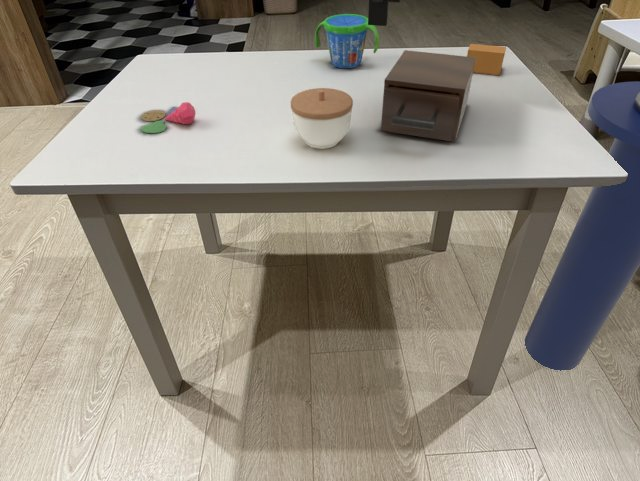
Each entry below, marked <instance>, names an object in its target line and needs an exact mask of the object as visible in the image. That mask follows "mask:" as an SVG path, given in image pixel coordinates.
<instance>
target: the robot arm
mask: <svg viewBox="0 0 640 481" xmlns="http://www.w3.org/2000/svg"><path fill="white" fill-rule="evenodd" d="M400 2H401V0H368V12H367V13H368V14H367V15H368V16H367V18H368V25H374V26H379V27H387V25H388V15H389V14H388V13H389V3H400ZM634 108H635V109H636V110H637V111H638V112H639V113H640V92H639V93H638V95H637V97H636V99H635V101H634Z"/></svg>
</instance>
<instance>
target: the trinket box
mask: <svg viewBox="0 0 640 481" xmlns="http://www.w3.org/2000/svg"><path fill="white" fill-rule="evenodd" d="M353 106H354V101H353V98H352V96H351V95H350V94H348V92H345V91H343V90H340V89H335V88H330V87H318V88H310V89H309V88H308V89H306V90H302V91H300V92H297V93H296V94H295V95H294V96H292V98H291V99H290V108H291V117H292V122H293V126H294V129H295V131H296V133H297V135H298V136H299V138H301V140H302V141H304V142H305V143H306V145H307V146H309V147H311V148H313V149H318V150H327V149H331V148H333V147H336V146H337V145H339V142H341V140H343V139H344V137H345V136H346V135H347V133H348V131H349V129H350V126H351V122H352V117H353V116H352V114H353Z"/></svg>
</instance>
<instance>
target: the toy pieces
mask: <svg viewBox="0 0 640 481" xmlns="http://www.w3.org/2000/svg"><path fill="white" fill-rule="evenodd" d="M195 118H196V109H195V106H193V105H192V103H190V102H189V101H188V102H187V101H185V102H182V103H181V104H180V106H178V107H175V106H173V107H171V109H170V110H169V111H168V112H167V116H166V112H165V111H163V110H160V109H159V110H155V109H154V110H149V111H145V112H144V113H143V114H142V115H141V119H142V120H143V121H144V122H152V123H149V124H145V125H143V126H142V127H141V128H140V131H141V132H142V133H144V134H145V133H146V134H159V133H162V132H164V131H165V130H167V126H166V124H165V123H166V121H169V122H174V123H178V124H183V125H190V124H191V123H193V122H194V120H195ZM162 119H164V120H166V121H164V120H162Z"/></svg>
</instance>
